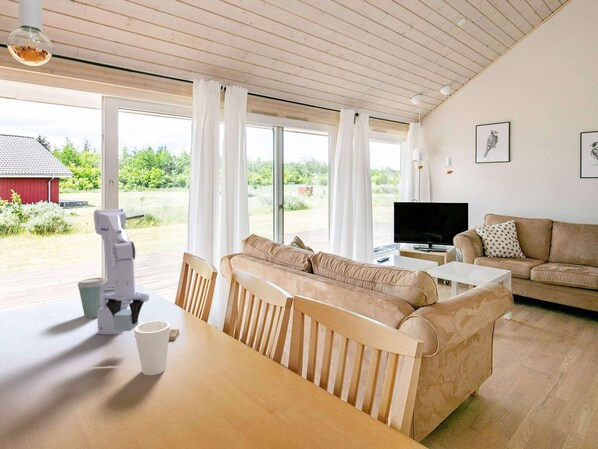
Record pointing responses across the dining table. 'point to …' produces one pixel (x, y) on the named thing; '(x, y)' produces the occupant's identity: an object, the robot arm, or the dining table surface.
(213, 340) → the dining table surface
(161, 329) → the foam cup
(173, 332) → the slab top
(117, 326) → the cube
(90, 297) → the disposable coffee cup
